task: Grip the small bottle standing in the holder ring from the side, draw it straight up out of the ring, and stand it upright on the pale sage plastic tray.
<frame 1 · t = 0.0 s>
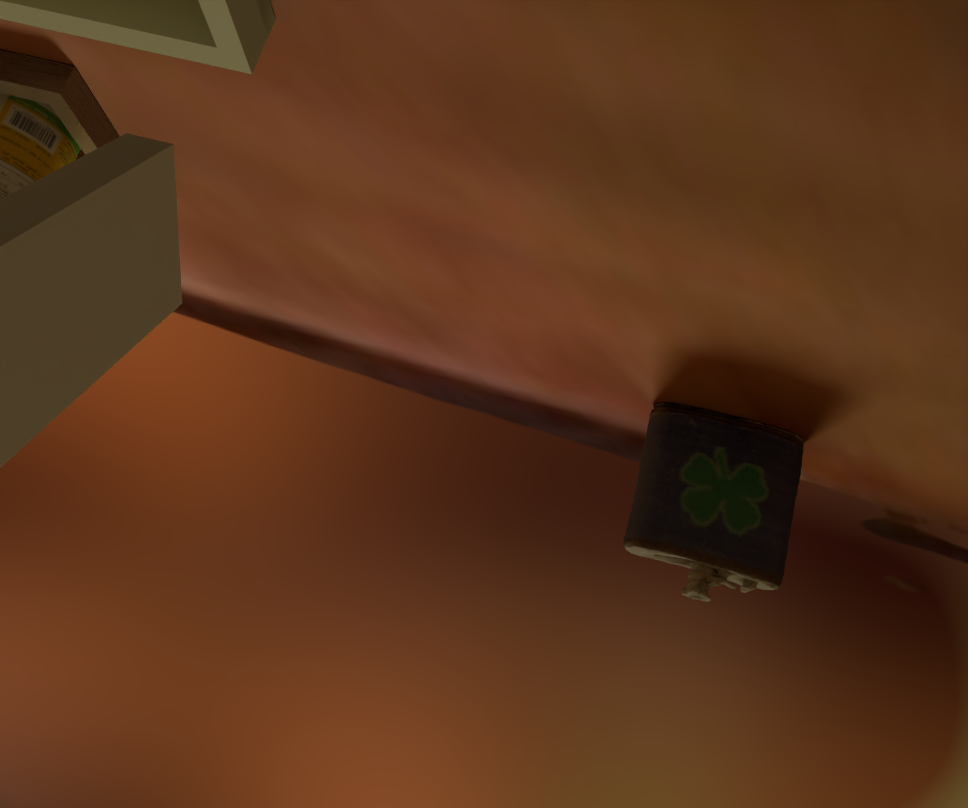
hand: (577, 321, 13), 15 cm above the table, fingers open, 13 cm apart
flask: (729, 420, 56), on the table
holder ring: (29, 112, 42), on the table
supplement bottle: (31, 108, 43), resting in holder ring
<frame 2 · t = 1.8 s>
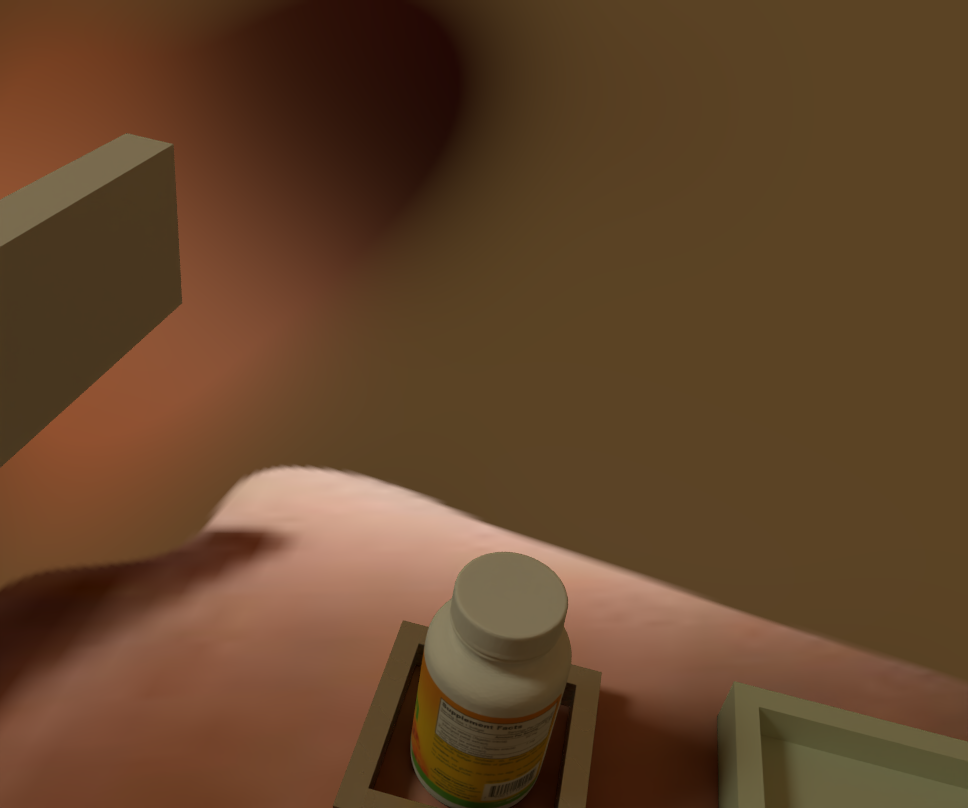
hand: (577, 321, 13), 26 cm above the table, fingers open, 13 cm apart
holder ring: (474, 754, 36), on the table
supplement bottle: (474, 758, 36), resting in holder ring
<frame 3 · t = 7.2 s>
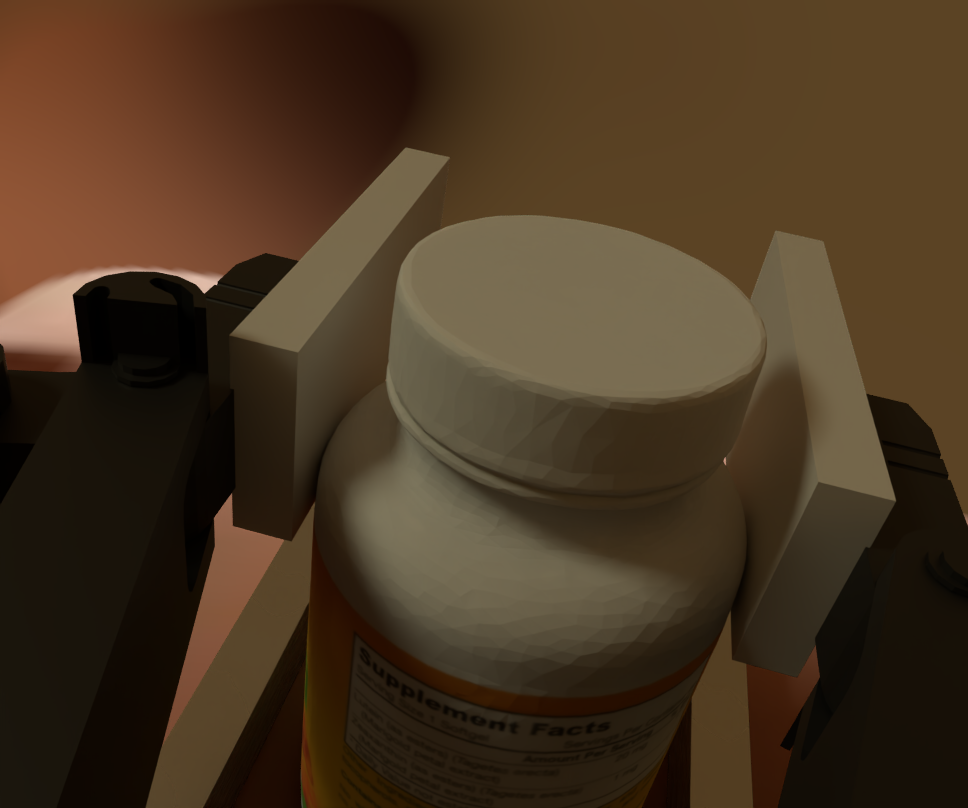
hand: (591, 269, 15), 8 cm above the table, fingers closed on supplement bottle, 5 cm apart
holder ring: (461, 794, 15), on the table
supplement bottle: (459, 801, 15), resting in holder ring, touching gripper
when the fingers open (10 cm above the table, at t = 12.5 s): supplement bottle drops 1 cm, resting on tray.
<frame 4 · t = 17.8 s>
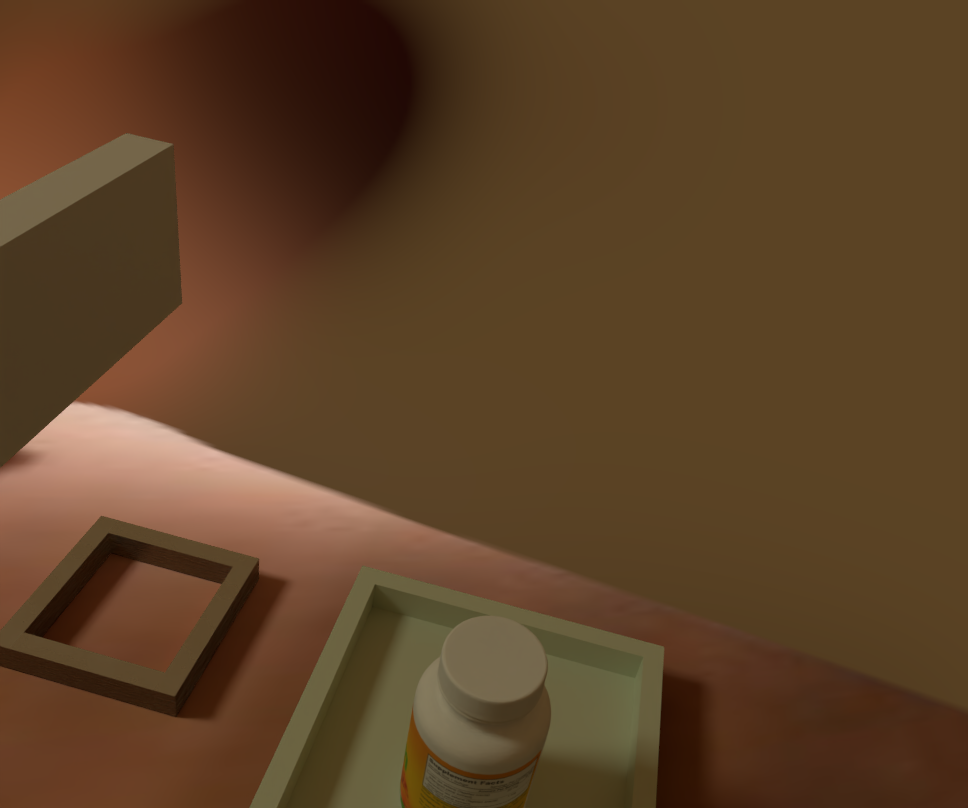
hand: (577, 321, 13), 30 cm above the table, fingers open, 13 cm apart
holder ring: (136, 618, 44), on the table
supplement bottle: (459, 803, 38), point 1 cm above the table, touching tray
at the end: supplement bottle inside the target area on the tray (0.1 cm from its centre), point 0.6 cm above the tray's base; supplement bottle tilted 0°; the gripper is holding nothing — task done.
